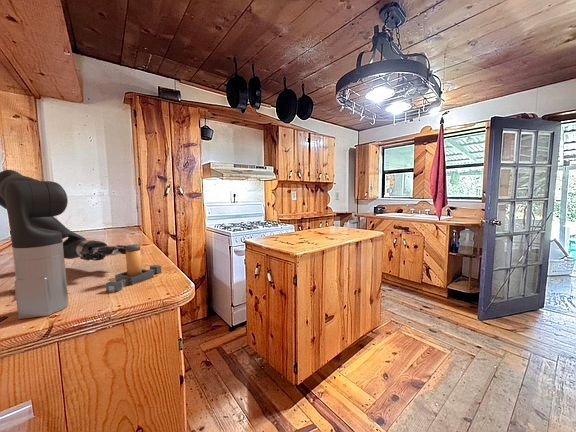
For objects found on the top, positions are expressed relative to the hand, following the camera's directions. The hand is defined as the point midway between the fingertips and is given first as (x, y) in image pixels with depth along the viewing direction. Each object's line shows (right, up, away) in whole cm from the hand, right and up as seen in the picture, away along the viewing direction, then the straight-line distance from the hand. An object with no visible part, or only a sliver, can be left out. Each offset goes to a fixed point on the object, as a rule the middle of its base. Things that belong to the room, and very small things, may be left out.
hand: (115, 254), depth 94 cm
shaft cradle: (+10, -8, -6) cm, 14 cm away
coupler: (+10, -8, -5) cm, 14 cm away
